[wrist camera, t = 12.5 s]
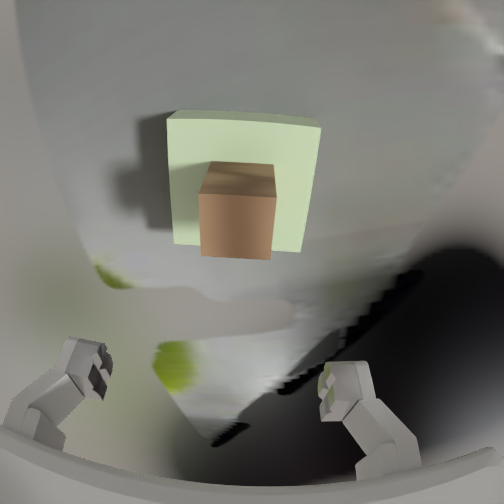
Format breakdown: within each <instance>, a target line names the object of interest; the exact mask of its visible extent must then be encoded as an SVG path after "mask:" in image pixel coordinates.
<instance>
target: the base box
mask: <svg viewBox="0 0 504 504" xmlns="http://www.w3.org/2000/svg"><path fill="white" fill-rule="evenodd" d="M320 134H321V127H320V125H319V124H318V123H317V121H316V120H315V118H307V117H299V116H289V115H279V114H268V113H255V112H238V111H213V110H177V111H176V112H175V113H174V114H172V115H171V116H170V117H169V118H167V142H168V165H169V183H170V198H171V212H172V224H173V236H174V244H186V245H200V226H199V200H198V193H199V191H200V188H201V185H202V183H203V181H204V178H205V176H206V173H207V171H208V168H209V166H210V163H211V161H222V162H243V163H260V164H274V173H275V183H276V194H277V201H276V211H275V220H274V229H273V239H272V248H271V250H274V251H288V252H300V251H301V246H302V241H303V235H304V230H305V224H306V219H307V213H308V208H309V202H310V196H311V190H312V184H313V178H314V172H315V166H316V160H317V153H318V147H319V140H320Z"/></svg>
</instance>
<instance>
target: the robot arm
mask: <svg viewBox="0 0 504 504" xmlns="http://www.w3.org/2000/svg"><path fill="white" fill-rule="evenodd" d="M106 350H107V347H106V345H105V343H101V342H96V341H91V340H85V339H81V338H77V337H71V336H69V337H68V339H67V340H66V341H65V344H64V346H63V348H62V350H61V353H60V355H59V358H58V359H57V362H56V364H55V366H54V369H53V370H52V369H50V370H49V371H47V372H46V373H45V374H43V375H42V376H41V377H39V378H38V379H37V380H35V381H34V382H33V383H32V384H30V385H29V386H28V387H26V388H25V389H24V390H23V391H21V392H20V393H19V394H18V395H16V396H15V397H14V398H13V399H12V401H11V403H10V406H9V409H8V411H7V414H6V416H5V419H4V422H3V425H2V426H1V425H0V504H504V456H503V455H502V454H501V453H500V452H498V451H497V450H496V449H495V448H493V447H486V448H482V449H480V450H477V451H474V452H471V453H469V454H466V455H463V456H460V457H457V458H454V459H451V460H447V461H444V462H441V463H437V464H434V465H430V466H427V467H423V468H422V463H421V458H420V453H419V448H418V444H417V439H416V437H415V436H414V435H413V434H412V433H411V432H410V431H409V429H408V428H407V427H406V426H405V425H404V424H403V423H402V422H401V421H400V420H399V419H398V418H397V417H396V416H395V415H394V414H393V413H392V412H391V411H390V409H389V408H387V406H386V405H385V404H384V403H383V402H382V401H381V400H380V399H376V397H375V392H374V388H373V384H372V379H371V375H370V370H369V366H368V363H367V362H366V361H345V362H344V361H343V362H327V363H326V364H325V366H324V372H322V373H321V374H320V377H319V381H318V395H319V397H320V398H321V399H322V400H323V401H322V403H321V405H320V414H321V421H342V422H343V424H344V425H345V426H346V428H347V429H348V430H349V432H350V433H351V434H352V436H353V437H354V439H355V440H356V441H357V443H358V444H359V445H360V447H361V448H362V449H363V451H364V452H365V453H366V455H367V456H366V457H365V458H363V459H362V460H360V461H359V462H358V463H357V464H356V465H355V466H356V477H357V481H351V482H343V483H334V484H324V485H309V486H287V487H252V486H230V485H216V484H206V483H196V482H188V481H181V480H174V479H168V478H162V477H156V476H150V475H146V474H141V473H136V472H132V471H127V470H123V469H119V468H115V467H111V466H107V465H104V464H100V463H97V462H93V461H90V460H86V459H84V458H80V457H77V456H74V455H71V454H68V453H66V452H63V447H64V443H65V439H66V436H65V434H64V433H63V432H62V431H61V430H59V429H58V428H57V426H58V425H59V424H60V423H61V422H62V421H63V420H64V419H65V418H66V417H67V416H68V415H69V414H70V412H72V411H73V409H75V408H76V407H77V406H78V405H79V403H80V402H81V401H82V400H83V399H84V397H87V398H91V399H96V400H100V401H103V400H104V396H105V393H106V390H107V385H106V382H105V381H106V380H108V379H109V378H110V377H111V373H112V368H113V362H112V358H111V355H110V354H108V353H107V352H106Z"/></svg>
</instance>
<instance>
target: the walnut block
mask: <svg viewBox="0 0 504 504" xmlns="http://www.w3.org/2000/svg"><path fill="white" fill-rule="evenodd" d="M198 200H199V226H200V247H201V256H211V257H228V258H244V259H261V260H270V257H271V248H272V239H273V229H274V220H275V211H276V201H277V194H276V183H275V173H274V164H260V163H243V162H222V161H211V163H210V166H209V168H208V171H207V173H206V176H205V178H204V181H203V183H202V185H201V188H200V191H199V193H198Z"/></svg>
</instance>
